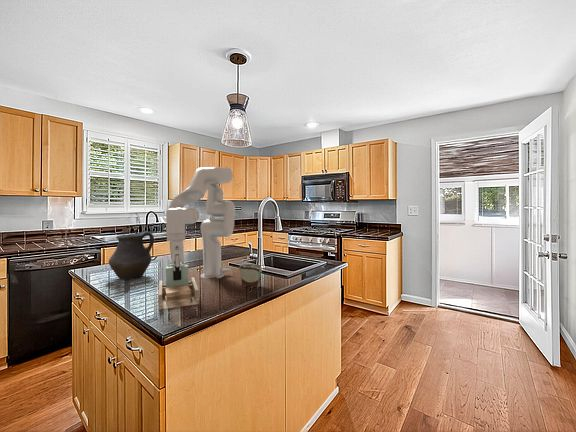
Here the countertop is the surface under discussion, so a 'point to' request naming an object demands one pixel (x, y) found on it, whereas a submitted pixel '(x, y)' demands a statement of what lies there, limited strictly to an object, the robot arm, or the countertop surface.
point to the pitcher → (131, 256)
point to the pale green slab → (171, 282)
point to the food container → (250, 275)
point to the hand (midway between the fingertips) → (177, 278)
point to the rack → (193, 301)
